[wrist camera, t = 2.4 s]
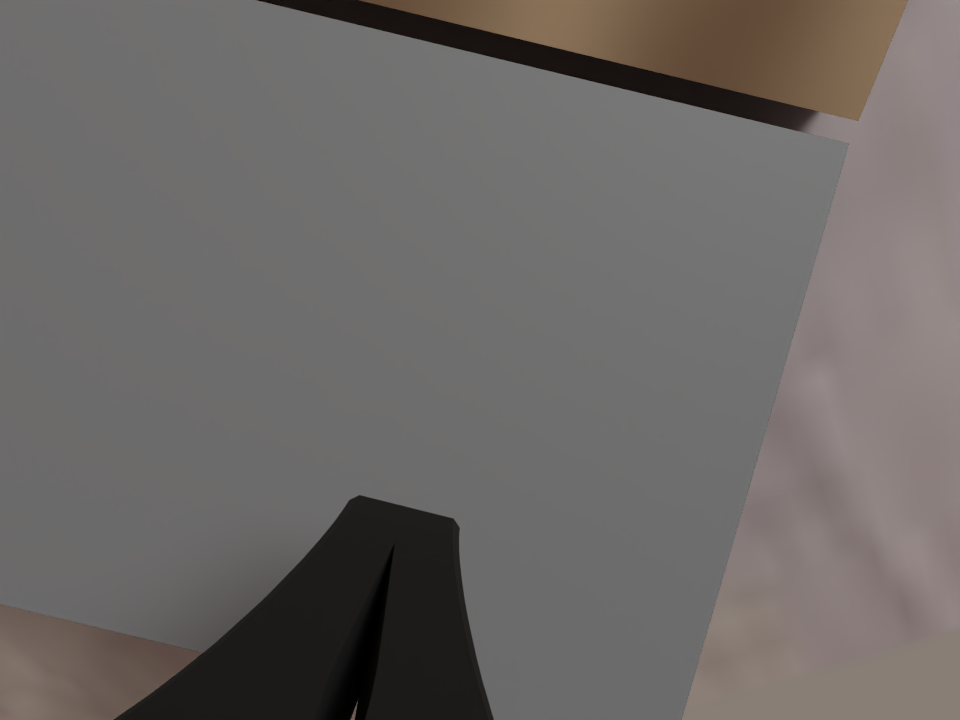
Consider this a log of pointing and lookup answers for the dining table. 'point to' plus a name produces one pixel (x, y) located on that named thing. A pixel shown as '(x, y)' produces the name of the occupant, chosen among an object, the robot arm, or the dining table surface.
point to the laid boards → (708, 40)
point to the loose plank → (384, 331)
